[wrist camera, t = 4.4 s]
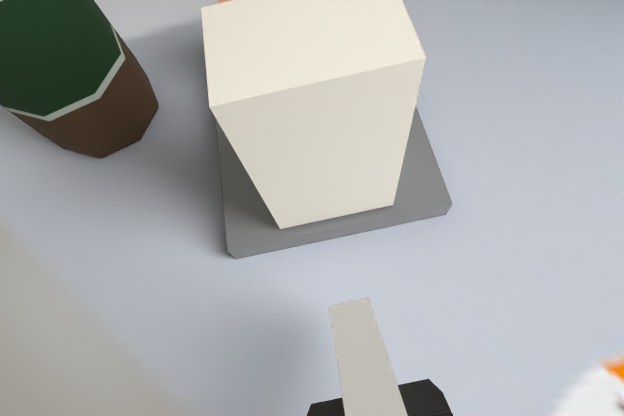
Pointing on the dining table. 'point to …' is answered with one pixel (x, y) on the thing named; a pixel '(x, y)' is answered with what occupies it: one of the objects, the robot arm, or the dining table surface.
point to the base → (269, 237)
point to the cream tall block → (315, 99)
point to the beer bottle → (72, 76)
